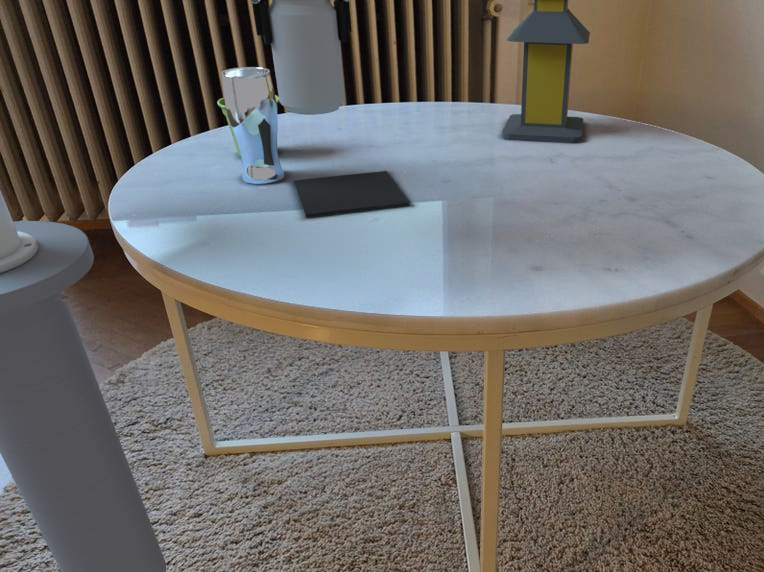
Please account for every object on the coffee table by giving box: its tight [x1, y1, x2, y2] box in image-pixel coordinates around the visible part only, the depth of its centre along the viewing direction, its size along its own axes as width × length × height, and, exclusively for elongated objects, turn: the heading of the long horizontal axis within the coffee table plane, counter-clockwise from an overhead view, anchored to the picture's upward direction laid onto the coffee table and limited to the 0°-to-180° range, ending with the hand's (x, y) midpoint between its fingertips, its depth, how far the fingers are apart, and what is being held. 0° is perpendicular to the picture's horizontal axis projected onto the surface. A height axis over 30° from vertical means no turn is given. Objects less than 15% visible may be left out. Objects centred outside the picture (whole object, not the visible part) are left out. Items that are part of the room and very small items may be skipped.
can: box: [267, 0, 346, 116], centre depth 76 cm, size 8×8×12 cm
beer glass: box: [220, 66, 285, 185], centre depth 98 cm, size 7×7×15 cm
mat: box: [293, 170, 410, 218], centre depth 96 cm, size 14×14×1 cm
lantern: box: [501, 0, 591, 144], centre depth 117 cm, size 14×14×30 cm
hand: (305, 40), depth 75 cm, fingers closed on can, 7 cm apart
